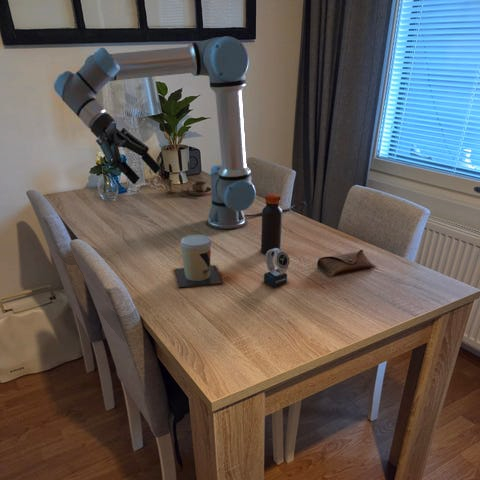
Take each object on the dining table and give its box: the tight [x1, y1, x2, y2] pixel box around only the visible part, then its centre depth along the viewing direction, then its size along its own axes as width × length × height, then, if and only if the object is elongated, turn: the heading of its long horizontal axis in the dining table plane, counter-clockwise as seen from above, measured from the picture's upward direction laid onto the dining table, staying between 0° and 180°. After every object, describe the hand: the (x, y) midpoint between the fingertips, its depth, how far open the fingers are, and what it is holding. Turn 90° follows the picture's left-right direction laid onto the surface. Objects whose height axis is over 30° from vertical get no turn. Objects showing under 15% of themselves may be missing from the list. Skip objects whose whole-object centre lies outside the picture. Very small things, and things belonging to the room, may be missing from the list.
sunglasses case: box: [316, 249, 375, 277], centre depth 146 cm, size 18×7×7 cm, turn 115°
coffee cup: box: [179, 234, 212, 281], centre depth 137 cm, size 9×9×12 cm
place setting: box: [166, 179, 211, 199], centre depth 219 cm, size 18×20×6 cm
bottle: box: [260, 193, 283, 256], centre depth 153 cm, size 7×7×20 cm
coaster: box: [175, 264, 222, 289], centre depth 140 cm, size 13×13×1 cm
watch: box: [263, 248, 290, 289], centre depth 134 cm, size 6×8×11 cm
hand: (148, 175), depth 138 cm, fingers open, 13 cm apart
